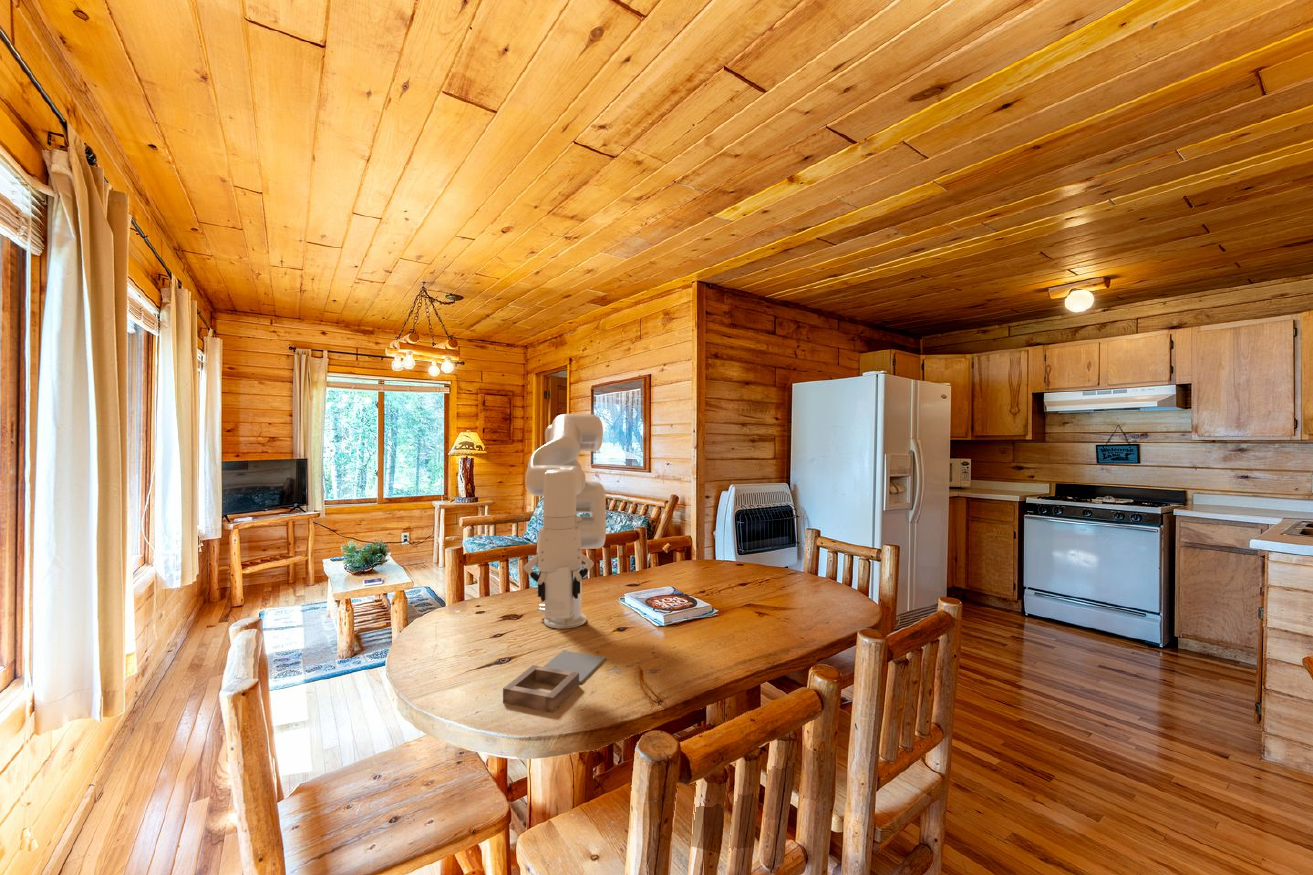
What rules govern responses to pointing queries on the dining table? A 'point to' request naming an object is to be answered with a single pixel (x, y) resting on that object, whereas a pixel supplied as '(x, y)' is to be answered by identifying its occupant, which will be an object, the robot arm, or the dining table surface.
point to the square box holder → (540, 699)
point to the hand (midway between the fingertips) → (559, 597)
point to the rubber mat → (576, 663)
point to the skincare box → (559, 593)
